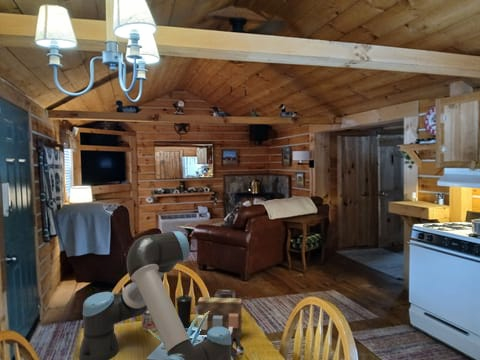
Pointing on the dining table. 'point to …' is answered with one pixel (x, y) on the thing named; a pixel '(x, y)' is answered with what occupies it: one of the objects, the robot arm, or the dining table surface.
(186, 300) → the drinking cup
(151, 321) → the teacup with lid
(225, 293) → the coffee box
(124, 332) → the dining table surface
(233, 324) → the terracotta button
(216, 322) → the slate button
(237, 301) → the button console
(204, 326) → the ivory button
